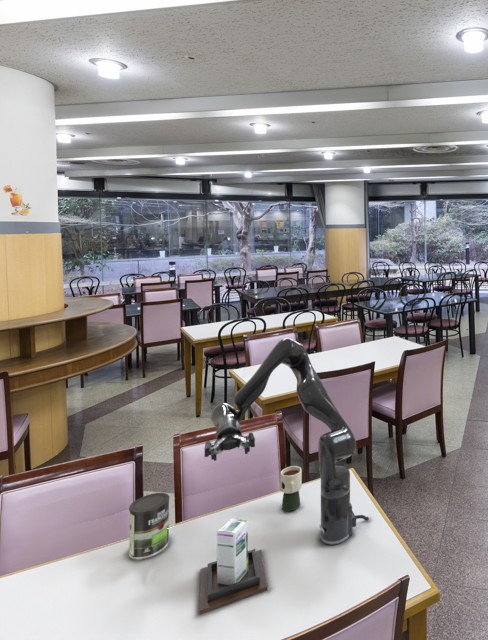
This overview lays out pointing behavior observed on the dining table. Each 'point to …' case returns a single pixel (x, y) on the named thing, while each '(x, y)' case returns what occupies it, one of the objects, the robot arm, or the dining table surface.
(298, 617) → the dining table surface
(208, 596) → the base pad
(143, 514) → the coffee can
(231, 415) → the robot arm
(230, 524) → the syrup box
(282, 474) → the character mug
